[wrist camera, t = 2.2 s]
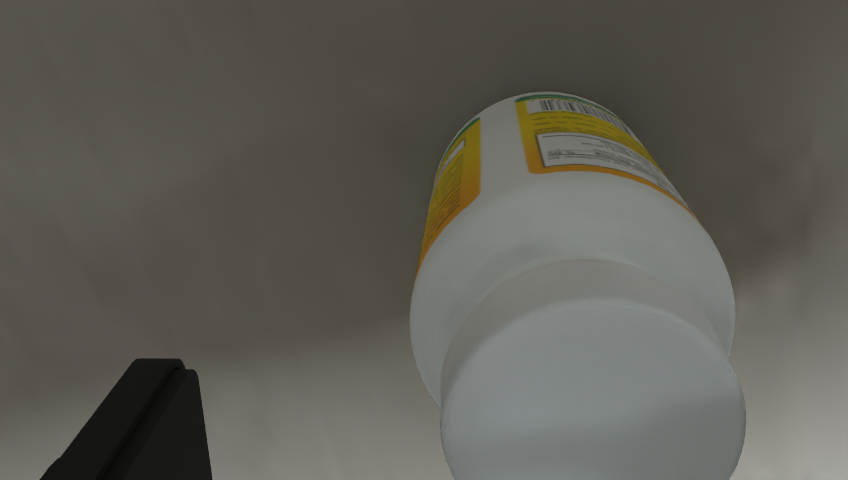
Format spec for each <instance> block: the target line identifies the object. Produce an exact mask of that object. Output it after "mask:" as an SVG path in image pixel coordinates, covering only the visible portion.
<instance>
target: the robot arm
mask: <svg viewBox="0 0 848 480" xmlns="http://www.w3.org/2000/svg"><path fill="white" fill-rule="evenodd" d="M40 480H212V473H211V466H210V459H209V451H208V444H207V437H206V430H205V423H204V415H203V408H202V401H201V394H200V387H199V380H198V375H197V373H196V371H195V370H193V369H185V366H184V364H183V362H182V361H181V360H180V359H143V358H140V359H136V360H135V361H134V362H133V363H132V364H131V365H130V366H129V368H128V369H127V370H126V372H125V373H124V374H123V376H122V377H121V378H120V380H119V381H118V382H117V383H116V385H115V386H114V387H113V389H112V390H111V391H110V393H109V394H108V395H107V397H106V398H105V399H104V401H103V402H102V403H101V405H100V406H99V407H98V408H97V410H96V411H95V412H94V414H93V415H92V416H91V418H90V419H89V420H88V422H87V423H86V424H85V426H84V427H83V428H82V430H81V431H80V432H79V433H78V435H77V436H76V437H75V439H74V440H73V441H72V443H71V444H70V445H69V447H68V448H67V449H66V451H65V452H64V453H63V455H62V456H61V457H60V458H58V459H57V460H56V461H55V462H54V463H53V464H52V465H51V466H50V467H49V468H48V469H47V471H46V472H45V473H44V475H43V476H42V477H41V479H40Z"/></svg>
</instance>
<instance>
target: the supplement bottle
mask: <svg viewBox="0 0 848 480" xmlns="http://www.w3.org/2000/svg"><path fill="white" fill-rule="evenodd" d="M735 324H736V310H735V300H734V293H733V289H732V285H731V280H730V277H729V274H728V271H727V269H726V266H725V264H724V262H723V259H722V257H721V255H720V253H719V251H718V249H717V247H716V246H715V244H714V242H713V241H712V239H711V238H710V236H709V234H708V233H707V232H706V230H705V229H704V228H703V226H702V225H701V223H700V222H699V220H698V219H697V217H696V216H695V215H694V214H693V213H692V211H691V210H690V208H689V207H688V206H687V204H686V203H685V201H684V200H683V199H682V197H681V196H680V195H679V193H678V192H677V191H676V189H675V188H674V187H673V185H672V184H671V182H670V181H669V180H668V179H667V177H666V176H665V174H664V173H663V172H662V170H661V169H660V168H659V166H658V165H657V163H656V162H655V161H654V159H653V158H652V157H651V155H650V154H649V153H648V151H647V150H646V148H645V147H644V146H643V144H642V143H641V142H640V140H639V139H638V138H637V136H636V135H635V134H634V133H633V132H632V131H631V130H630V128H629V127H628V126H627V125H626V124H625V123H624V122H623V121H622V120H621V119H620V118H618V117H617V116H616V115H615V114H614V113H612V112H611V111H609V110H608V109H606V108H605V107H603V106H601V105H599V104H597V103H595V102H593V101H590V100H588V99H585V98H582V97H579V96H576V95H572V94H566V93H560V92H532V93H526V94H521V95H517V96H514V97H510V98H507V99H505V100H502V101H500V102H497V103H495V104H493V105H491V106H490V107H488V108H486V109H484V110H483V111H482V112H480V113H479V114H477V115H476V116H475V117H473V118H472V119H471V120H470V121H468V122H467V123H466V124H465V125H464V126H463V127H462V128H461V130H460V131H459V132H458V133H457V134H456V136H455V137H454V139H453V140H452V141H451V143H450V144H449V146H448V148H447V150H446V151H445V153H444V155H443V157H442V160H441V162H440V164H439V167H438V170H437V173H436V176H435V180H434V185H433V190H432V196H431V200H430V204H429V210H428V216H427V221H426V226H425V231H424V236H423V241H422V247H421V252H420V257H419V261H418V266H417V272H416V277H415V282H414V287H413V293H412V298H411V306H410V338H411V345H412V351H413V355H414V359H415V362H416V366H417V369H418V371H419V374H420V376H421V379H422V381H423V383H424V385H425V387H426V389H427V390H428V392H429V394H430V395H431V397H432V399H433V400H434V401H435V403H436V404H437V405H438V407H439V408H440V409H441V415H440V427H441V439H442V445H443V450H444V453H445V457H446V461H447V463H448V465H449V468H450V470H451V473H452V475H453V477H454V479H455V480H729V479H730V477H731V475H732V474H733V472H734V470H735V468H736V466H737V463H738V460H739V458H740V455H741V452H742V448H743V444H744V438H745V427H746V410H745V402H744V398H743V394H742V390H741V387H740V383H739V380H738V378H737V376H736V374H735V372H734V369H733V367H732V365H731V363H730V361H729V358H730V354H731V350H732V346H733V341H734V335H735Z"/></svg>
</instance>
